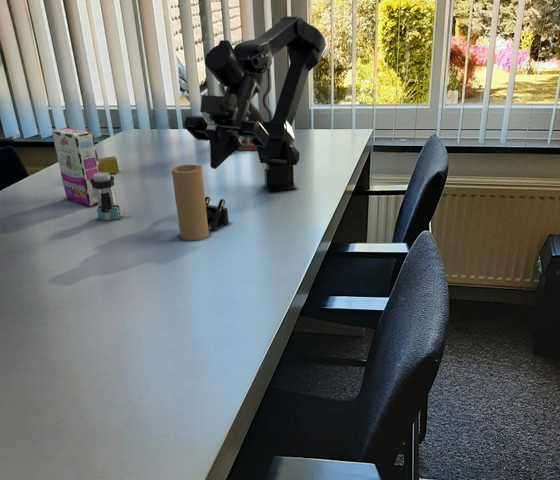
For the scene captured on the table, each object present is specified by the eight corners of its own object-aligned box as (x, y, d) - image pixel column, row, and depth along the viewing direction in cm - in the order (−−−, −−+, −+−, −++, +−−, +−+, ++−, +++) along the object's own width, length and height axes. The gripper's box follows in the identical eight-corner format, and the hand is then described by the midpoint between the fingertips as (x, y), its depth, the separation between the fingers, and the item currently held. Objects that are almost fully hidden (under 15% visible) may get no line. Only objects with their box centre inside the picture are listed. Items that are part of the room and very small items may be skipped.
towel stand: (208, 220, 139) (205, 195, 136) (228, 223, 136) (226, 198, 133) (194, 227, 135) (191, 202, 132) (215, 231, 133) (212, 206, 130)
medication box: (76, 180, 169) (73, 166, 167) (74, 177, 171) (71, 162, 169) (119, 172, 173) (117, 158, 171) (117, 169, 175) (114, 155, 173)
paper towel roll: (207, 187, 136) (172, 151, 123) (230, 191, 133) (196, 154, 121) (185, 246, 134) (147, 216, 122) (207, 250, 132) (171, 220, 119)
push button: (129, 213, 145) (121, 170, 139) (124, 221, 140) (116, 177, 135) (100, 214, 145) (92, 171, 139) (95, 222, 140) (86, 178, 135)
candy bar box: (107, 201, 153) (94, 132, 143) (90, 207, 150) (75, 136, 140) (82, 193, 159) (68, 126, 150) (65, 198, 156) (49, 130, 147)
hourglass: (274, 149, 188) (270, 58, 174) (221, 151, 189) (213, 60, 175) (275, 137, 202) (272, 51, 188) (226, 139, 202) (219, 53, 188)
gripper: (181, 74, 129) (156, 143, 128) (256, 78, 121) (231, 152, 120) (208, 105, 139) (185, 170, 138) (279, 111, 131) (256, 180, 130)
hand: (213, 167), depth 131 cm, fingers closed
